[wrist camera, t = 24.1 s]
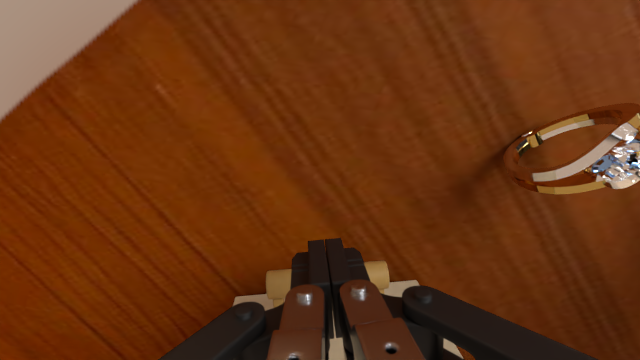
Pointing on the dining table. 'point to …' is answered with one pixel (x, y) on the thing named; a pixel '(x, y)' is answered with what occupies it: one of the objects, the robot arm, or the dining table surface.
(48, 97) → the dining table surface
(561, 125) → the ring
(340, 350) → the drawer
